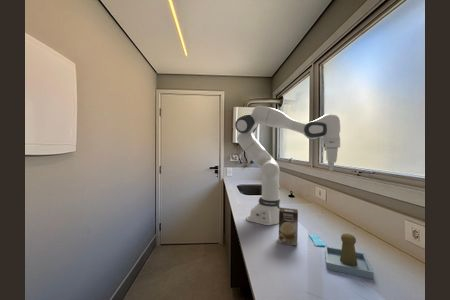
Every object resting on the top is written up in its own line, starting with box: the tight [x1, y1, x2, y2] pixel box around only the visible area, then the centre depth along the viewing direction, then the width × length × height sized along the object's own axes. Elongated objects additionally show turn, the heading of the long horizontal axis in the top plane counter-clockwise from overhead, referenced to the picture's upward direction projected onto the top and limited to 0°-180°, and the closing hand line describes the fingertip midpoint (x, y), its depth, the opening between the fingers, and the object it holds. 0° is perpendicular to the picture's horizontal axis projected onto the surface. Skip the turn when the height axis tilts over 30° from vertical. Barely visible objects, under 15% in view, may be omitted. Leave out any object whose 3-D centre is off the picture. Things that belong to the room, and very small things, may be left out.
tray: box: [324, 245, 374, 280], centre depth 81 cm, size 15×14×2 cm
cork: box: [340, 233, 357, 266], centre depth 81 cm, size 6×6×11 cm
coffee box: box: [278, 206, 299, 246], centre depth 100 cm, size 9×6×16 cm
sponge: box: [308, 234, 328, 248], centre depth 100 cm, size 2×12×6 cm
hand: (330, 169), depth 108 cm, fingers open, 8 cm apart
